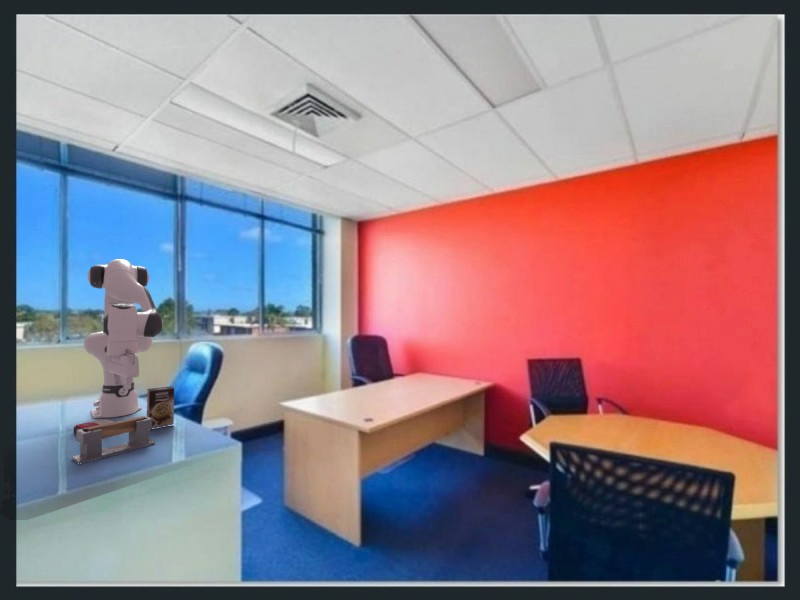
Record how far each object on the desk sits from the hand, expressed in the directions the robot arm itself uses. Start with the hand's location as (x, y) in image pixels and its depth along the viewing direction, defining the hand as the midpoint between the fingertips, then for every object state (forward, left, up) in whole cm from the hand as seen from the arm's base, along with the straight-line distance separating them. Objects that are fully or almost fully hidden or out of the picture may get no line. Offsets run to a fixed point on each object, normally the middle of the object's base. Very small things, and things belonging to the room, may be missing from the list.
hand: (122, 387), depth 134 cm
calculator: (-27, +1, -22) cm, 35 cm away
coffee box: (-15, +19, -22) cm, 32 cm away
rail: (+2, -2, -16) cm, 16 cm away
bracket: (+2, -2, -22) cm, 22 cm away
